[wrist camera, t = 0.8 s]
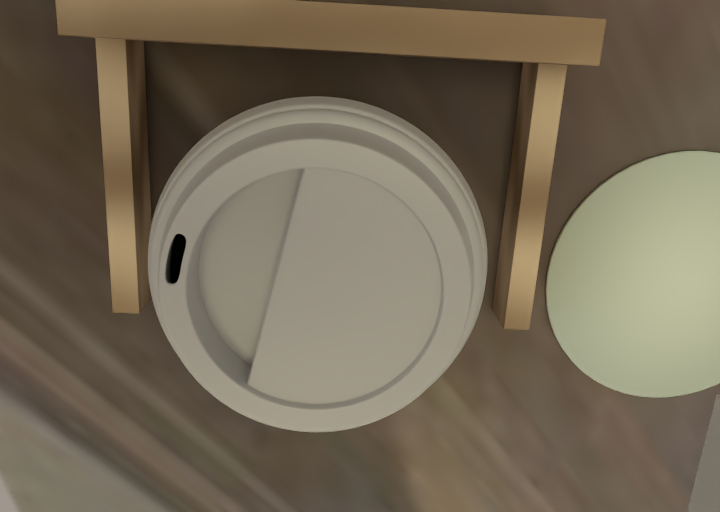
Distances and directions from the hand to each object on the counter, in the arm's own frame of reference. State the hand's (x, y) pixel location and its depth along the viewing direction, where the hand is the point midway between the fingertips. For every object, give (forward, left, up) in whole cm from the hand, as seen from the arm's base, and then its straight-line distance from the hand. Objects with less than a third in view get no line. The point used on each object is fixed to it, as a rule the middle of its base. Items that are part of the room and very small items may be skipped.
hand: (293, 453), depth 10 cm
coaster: (+4, +18, -21) cm, 28 cm away
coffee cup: (0, 0, -22) cm, 22 cm away
